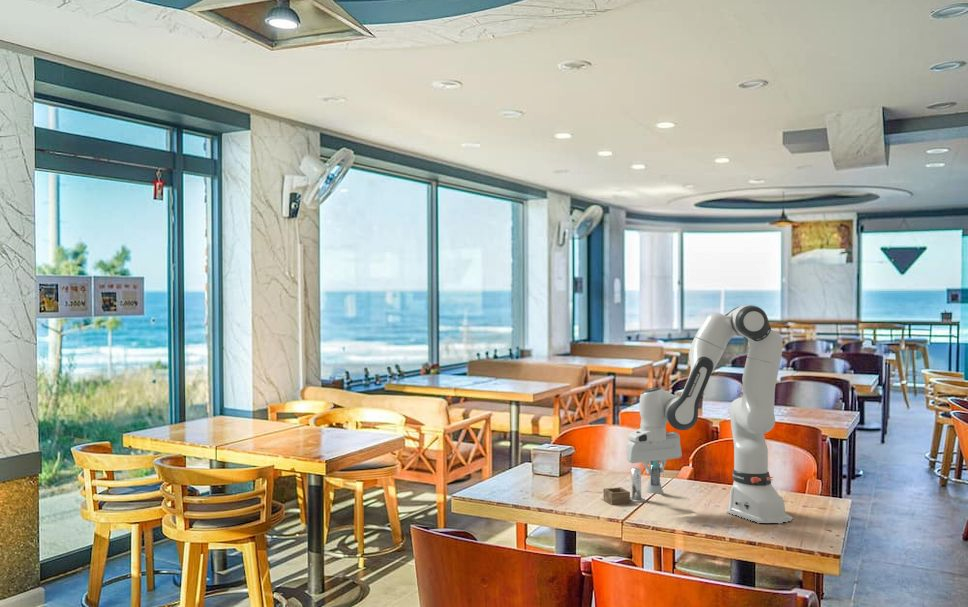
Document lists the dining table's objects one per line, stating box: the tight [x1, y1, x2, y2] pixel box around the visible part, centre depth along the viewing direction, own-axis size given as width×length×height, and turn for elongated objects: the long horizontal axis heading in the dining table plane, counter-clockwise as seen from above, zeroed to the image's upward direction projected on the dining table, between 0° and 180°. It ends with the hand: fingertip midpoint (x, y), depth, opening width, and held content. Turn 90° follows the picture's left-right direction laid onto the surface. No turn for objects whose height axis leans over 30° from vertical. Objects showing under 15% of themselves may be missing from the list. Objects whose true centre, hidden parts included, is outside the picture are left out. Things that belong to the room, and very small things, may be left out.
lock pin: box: [630, 467, 643, 500], centre depth 274 cm, size 3×3×11 cm
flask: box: [644, 474, 665, 496], centre depth 286 cm, size 7×7×10 cm
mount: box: [601, 487, 650, 506], centre depth 273 cm, size 8×15×5 cm, turn 106°
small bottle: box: [649, 460, 661, 486], centre depth 267 cm, size 3×3×10 cm
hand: (655, 473), depth 267 cm, fingers closed on small bottle, 3 cm apart
